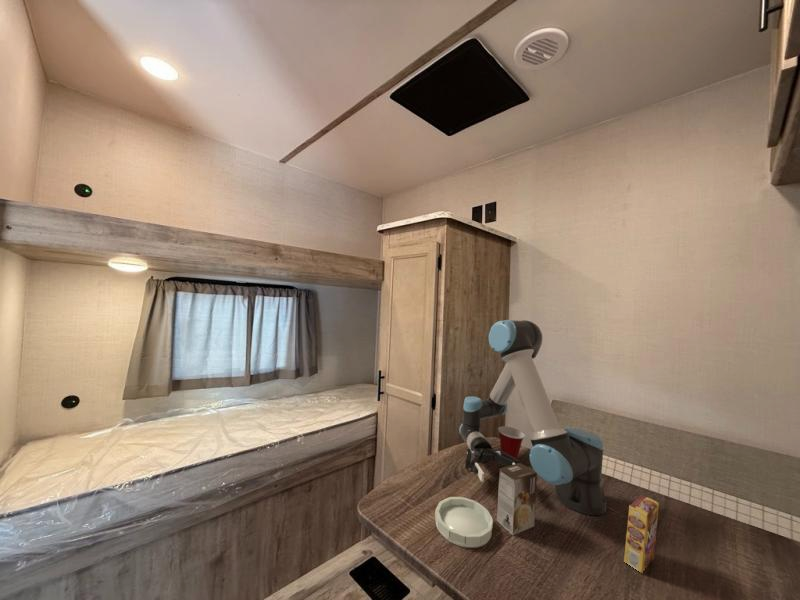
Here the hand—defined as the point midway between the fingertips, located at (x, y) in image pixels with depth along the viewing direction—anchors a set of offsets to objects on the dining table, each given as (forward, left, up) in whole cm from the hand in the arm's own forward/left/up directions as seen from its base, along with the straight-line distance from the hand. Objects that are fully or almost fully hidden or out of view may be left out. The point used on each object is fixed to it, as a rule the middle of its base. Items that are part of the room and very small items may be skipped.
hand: (503, 477), depth 99 cm
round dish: (+16, +9, -8) cm, 20 cm away
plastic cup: (-16, -27, -9) cm, 33 cm away
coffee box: (0, +9, -9) cm, 12 cm away
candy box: (-27, +23, -9) cm, 37 cm away
